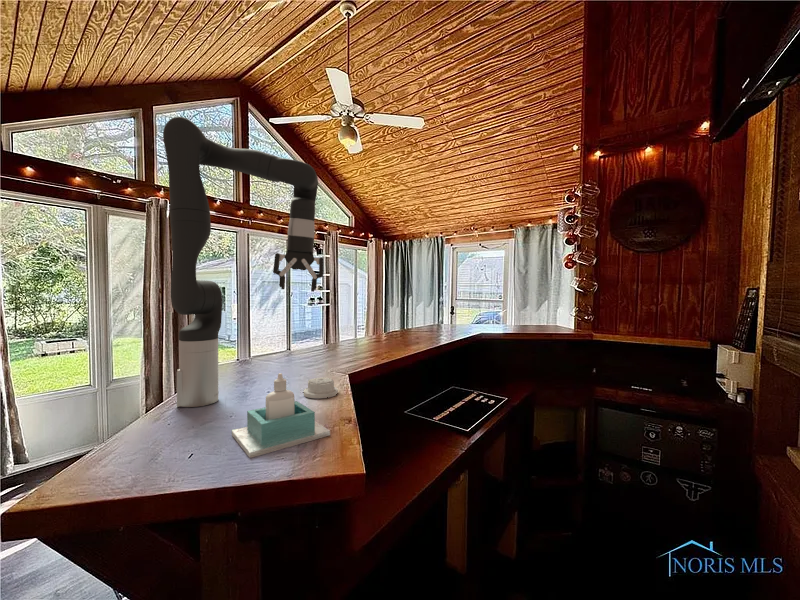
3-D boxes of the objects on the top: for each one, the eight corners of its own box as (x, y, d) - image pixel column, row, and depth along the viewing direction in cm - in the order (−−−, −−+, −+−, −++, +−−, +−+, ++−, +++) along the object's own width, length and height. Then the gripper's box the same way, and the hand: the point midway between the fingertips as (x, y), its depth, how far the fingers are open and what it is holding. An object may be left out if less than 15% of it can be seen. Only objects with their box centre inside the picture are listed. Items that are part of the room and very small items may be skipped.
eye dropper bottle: (291, 434, 70) (291, 376, 69) (263, 435, 69) (262, 376, 69) (296, 425, 74) (296, 371, 74) (269, 426, 74) (269, 371, 73)
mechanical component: (297, 398, 97) (330, 400, 96) (297, 383, 97) (331, 384, 96) (311, 389, 107) (342, 391, 106) (312, 375, 107) (342, 376, 106)
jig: (249, 458, 62) (249, 430, 62) (231, 435, 72) (231, 411, 72) (330, 435, 72) (330, 411, 72) (304, 417, 82) (304, 397, 82)
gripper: (325, 238, 106) (322, 290, 108) (277, 233, 103) (274, 287, 105) (325, 237, 99) (321, 293, 101) (273, 232, 95) (270, 289, 97)
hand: (297, 290), depth 103 cm, fingers open, 8 cm apart
